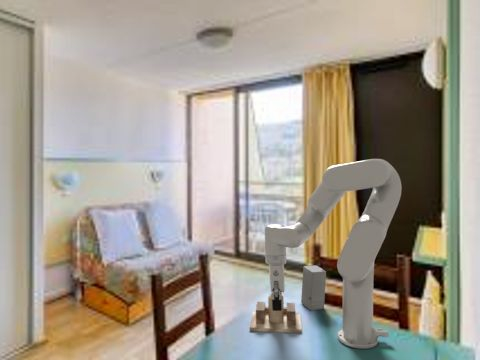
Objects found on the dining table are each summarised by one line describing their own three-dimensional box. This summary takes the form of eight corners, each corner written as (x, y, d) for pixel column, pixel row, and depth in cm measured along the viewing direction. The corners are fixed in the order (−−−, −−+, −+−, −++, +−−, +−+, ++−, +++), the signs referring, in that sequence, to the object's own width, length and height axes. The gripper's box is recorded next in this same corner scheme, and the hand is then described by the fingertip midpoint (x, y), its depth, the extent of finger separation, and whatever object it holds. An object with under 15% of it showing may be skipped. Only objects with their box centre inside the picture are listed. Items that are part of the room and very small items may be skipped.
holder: (299, 315, 138) (299, 299, 138) (301, 333, 124) (301, 315, 124) (252, 314, 140) (252, 298, 140) (249, 330, 126) (249, 313, 126)
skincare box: (300, 303, 150) (300, 265, 149) (316, 301, 152) (316, 264, 151) (310, 311, 142) (310, 271, 141) (326, 309, 144) (326, 269, 143)
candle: (283, 323, 128) (282, 296, 128) (267, 322, 129) (267, 295, 129) (284, 317, 134) (283, 290, 133) (269, 316, 135) (269, 290, 134)
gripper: (286, 265, 122) (288, 315, 122) (286, 252, 139) (287, 296, 140) (264, 265, 123) (265, 314, 123) (266, 253, 140) (268, 296, 140)
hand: (277, 305), depth 131 cm, fingers open, 9 cm apart
